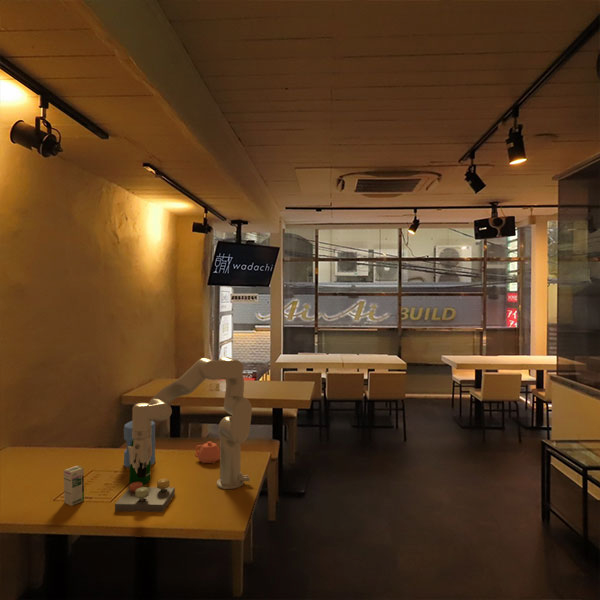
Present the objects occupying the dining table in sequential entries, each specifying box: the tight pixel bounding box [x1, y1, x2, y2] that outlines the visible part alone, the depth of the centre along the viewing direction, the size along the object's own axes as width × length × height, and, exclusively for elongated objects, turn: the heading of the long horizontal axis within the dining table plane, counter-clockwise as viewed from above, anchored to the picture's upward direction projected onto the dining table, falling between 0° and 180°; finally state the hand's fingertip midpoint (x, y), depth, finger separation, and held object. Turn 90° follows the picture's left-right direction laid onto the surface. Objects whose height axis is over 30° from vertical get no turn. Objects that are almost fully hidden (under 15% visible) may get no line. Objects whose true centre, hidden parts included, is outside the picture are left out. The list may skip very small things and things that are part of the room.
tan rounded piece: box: [156, 477, 170, 492], centre depth 194 cm, size 5×5×5 cm
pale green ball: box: [136, 486, 149, 502], centre depth 185 cm, size 5×5×5 cm
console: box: [114, 486, 176, 513], centre depth 190 cm, size 20×16×3 cm
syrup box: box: [63, 465, 85, 507], centre depth 190 cm, size 6×6×14 cm
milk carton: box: [128, 440, 151, 487], centre depth 209 cm, size 9×9×20 cm
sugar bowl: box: [194, 441, 220, 464], centre depth 237 cm, size 12×14×10 cm
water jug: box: [123, 420, 156, 469], centre depth 232 cm, size 16×16×28 cm
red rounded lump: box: [129, 482, 144, 492], centre depth 194 cm, size 5×5×5 cm
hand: (141, 476), depth 185 cm, fingers closed
